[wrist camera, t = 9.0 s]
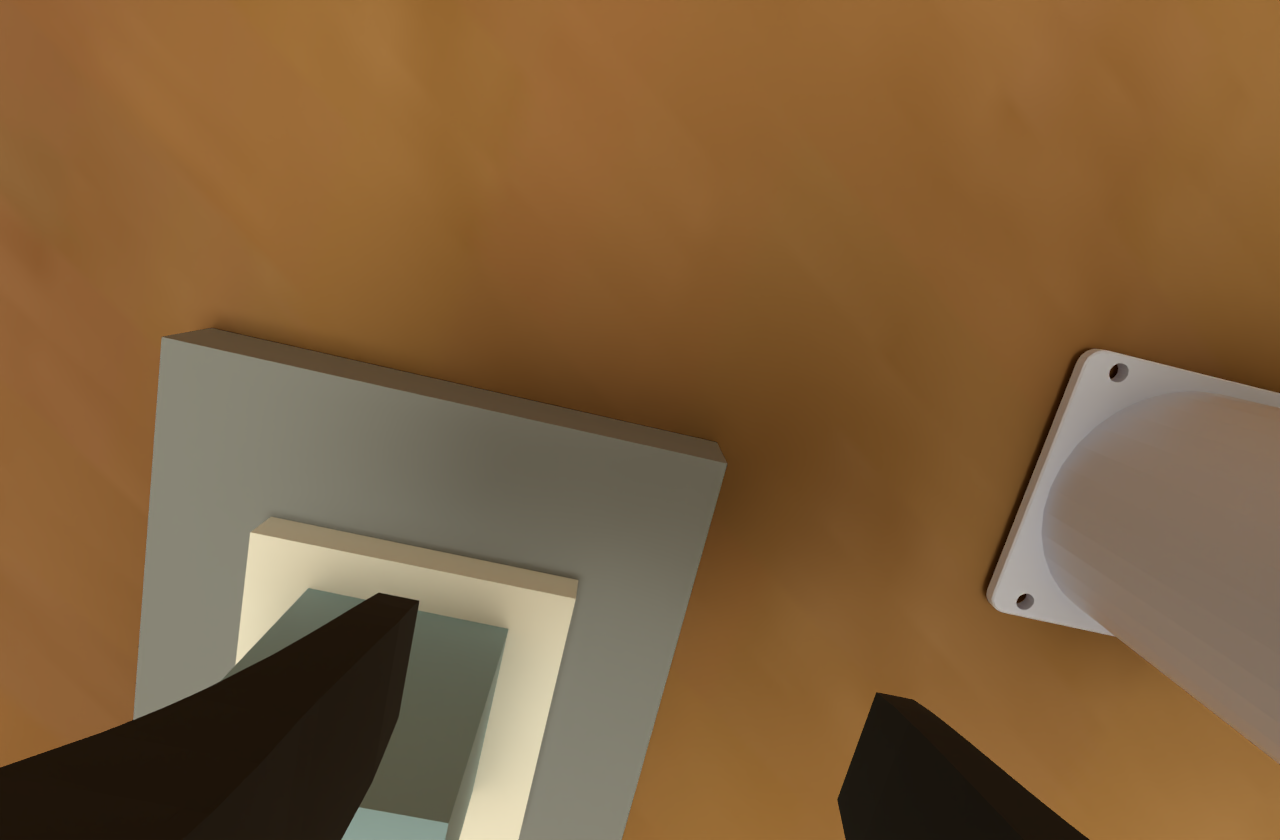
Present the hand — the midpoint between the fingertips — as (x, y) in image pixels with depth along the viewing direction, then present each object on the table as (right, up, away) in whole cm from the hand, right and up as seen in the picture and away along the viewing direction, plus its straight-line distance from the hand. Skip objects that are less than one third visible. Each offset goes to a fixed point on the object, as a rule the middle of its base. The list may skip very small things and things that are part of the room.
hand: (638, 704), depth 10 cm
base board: (-6, -2, +10) cm, 12 cm away
